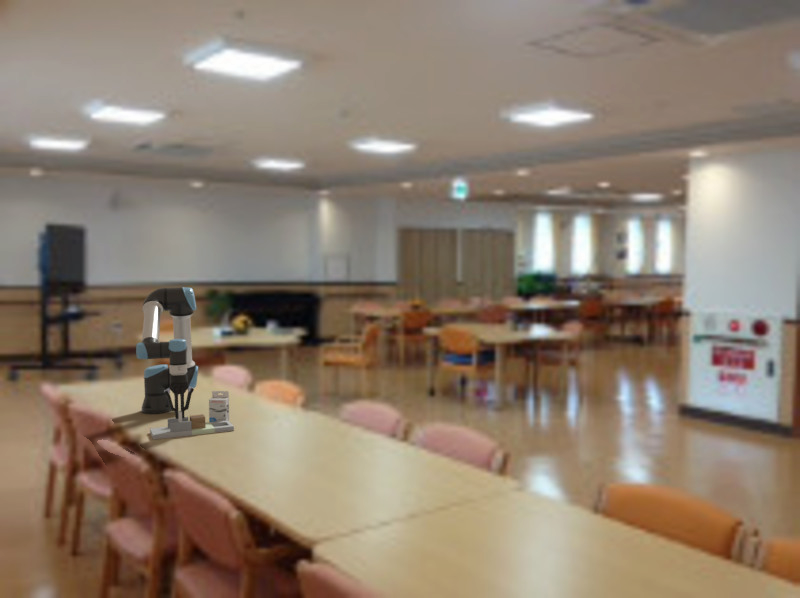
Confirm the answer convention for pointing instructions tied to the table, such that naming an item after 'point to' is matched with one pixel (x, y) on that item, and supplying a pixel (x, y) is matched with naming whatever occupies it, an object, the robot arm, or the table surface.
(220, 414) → the ink box
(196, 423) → the block
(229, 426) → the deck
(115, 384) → the table surface
